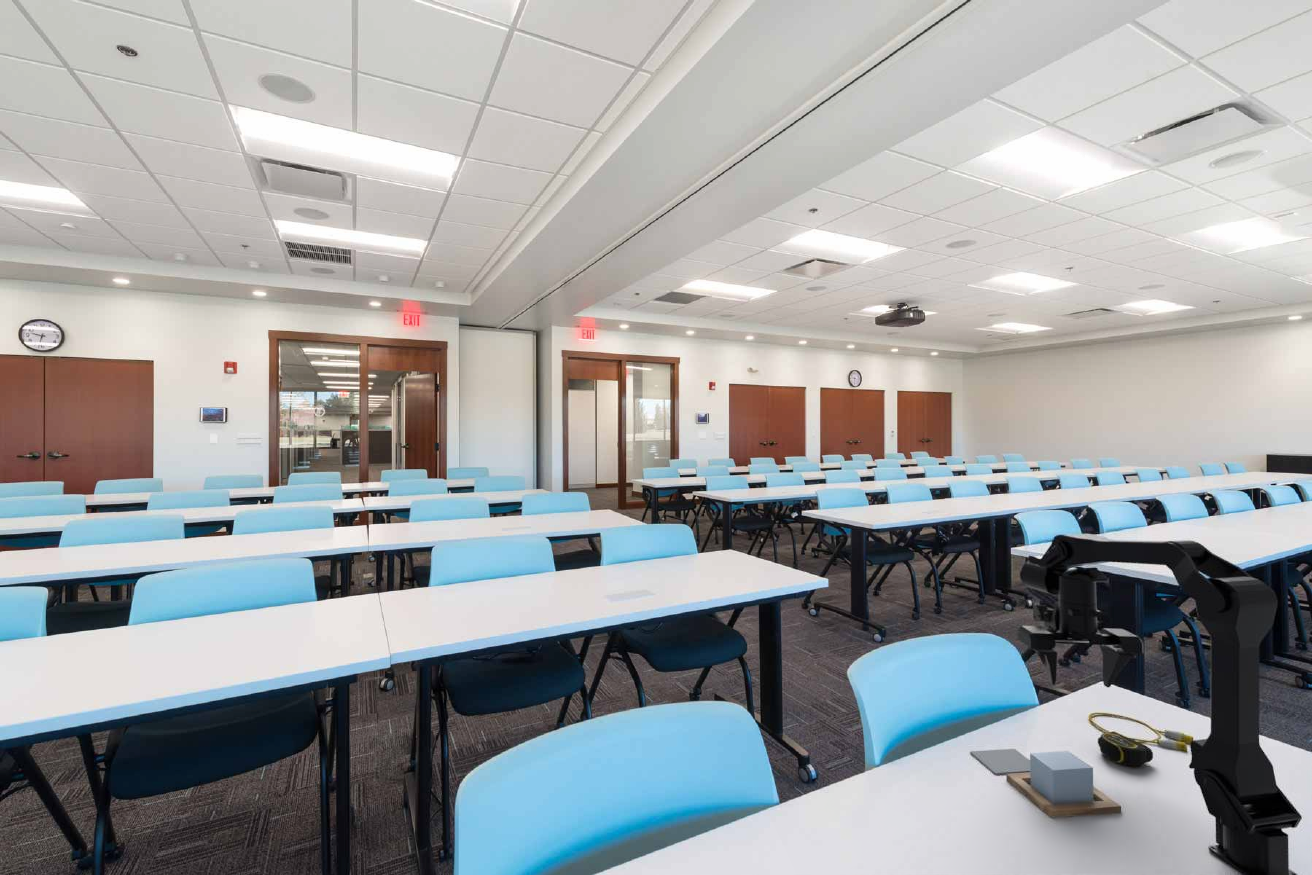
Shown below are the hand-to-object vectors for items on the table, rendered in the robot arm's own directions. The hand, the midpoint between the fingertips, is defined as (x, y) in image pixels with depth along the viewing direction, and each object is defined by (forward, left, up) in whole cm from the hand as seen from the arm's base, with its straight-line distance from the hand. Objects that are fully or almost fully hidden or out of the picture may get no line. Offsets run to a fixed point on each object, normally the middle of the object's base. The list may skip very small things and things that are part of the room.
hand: (1079, 685), depth 105 cm
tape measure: (0, -8, -14) cm, 16 cm away
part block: (-9, +12, -14) cm, 21 cm away
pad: (+1, +14, -14) cm, 20 cm away
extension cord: (+8, -19, -15) cm, 25 cm away
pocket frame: (-9, +12, -14) cm, 20 cm away
